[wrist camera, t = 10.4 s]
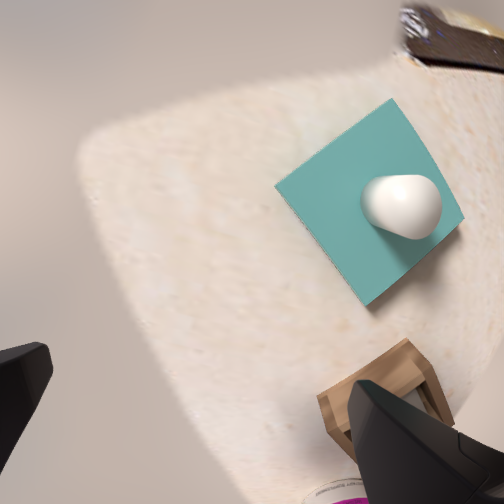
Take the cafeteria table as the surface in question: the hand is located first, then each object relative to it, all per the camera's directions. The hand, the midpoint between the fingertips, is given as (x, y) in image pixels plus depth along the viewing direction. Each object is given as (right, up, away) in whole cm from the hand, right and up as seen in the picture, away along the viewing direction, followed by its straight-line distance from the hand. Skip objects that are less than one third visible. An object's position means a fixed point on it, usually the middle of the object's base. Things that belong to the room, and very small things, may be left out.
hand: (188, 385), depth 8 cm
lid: (+9, +7, +10) cm, 15 cm away
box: (+12, -8, +14) cm, 20 cm away
